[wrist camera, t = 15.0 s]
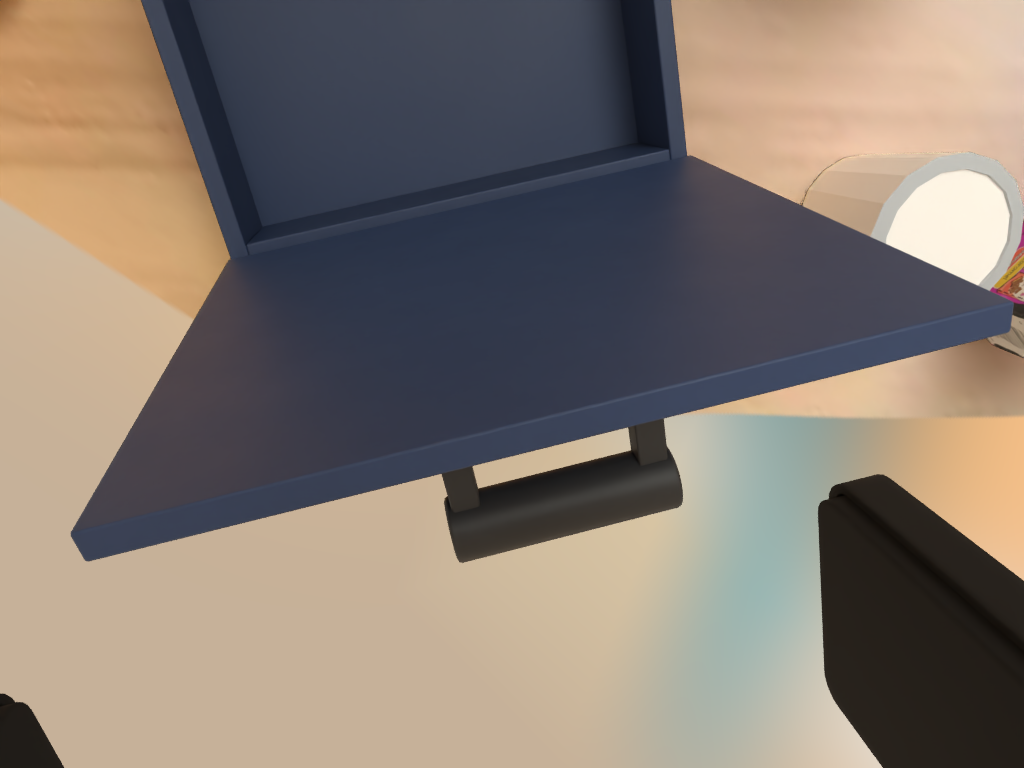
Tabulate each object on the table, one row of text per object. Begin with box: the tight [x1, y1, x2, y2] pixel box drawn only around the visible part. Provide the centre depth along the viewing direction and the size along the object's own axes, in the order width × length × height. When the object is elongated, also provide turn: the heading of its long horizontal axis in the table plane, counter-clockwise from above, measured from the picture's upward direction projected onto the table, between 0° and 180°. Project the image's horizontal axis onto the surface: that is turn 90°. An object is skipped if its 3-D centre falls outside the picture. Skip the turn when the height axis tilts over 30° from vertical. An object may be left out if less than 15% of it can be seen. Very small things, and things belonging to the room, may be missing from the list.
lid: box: [71, 155, 1014, 563], centre depth 23 cm, size 17×18×5 cm
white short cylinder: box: [802, 152, 1024, 291], centre depth 34 cm, size 7×7×7 cm
